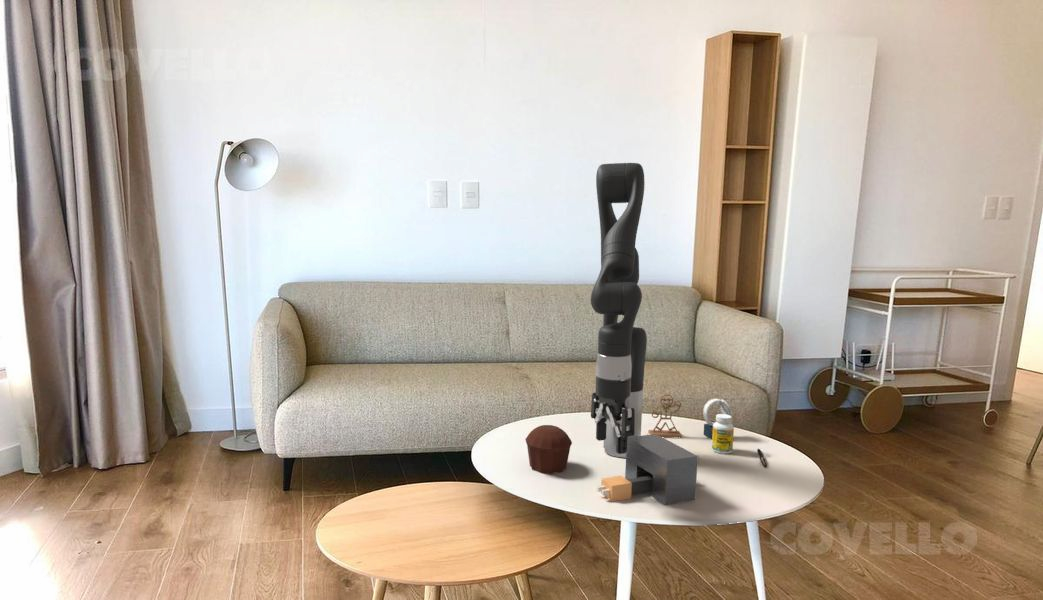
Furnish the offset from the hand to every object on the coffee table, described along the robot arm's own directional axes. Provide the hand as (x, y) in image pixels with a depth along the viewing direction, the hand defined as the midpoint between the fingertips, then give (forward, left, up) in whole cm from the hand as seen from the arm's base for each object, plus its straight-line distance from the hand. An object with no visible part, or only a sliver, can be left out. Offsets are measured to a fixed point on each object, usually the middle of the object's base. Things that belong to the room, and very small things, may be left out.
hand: (610, 446), depth 150 cm
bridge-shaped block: (0, +13, -12) cm, 17 cm away
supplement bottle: (-16, +44, -12) cm, 48 cm away
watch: (-26, +50, -12) cm, 58 cm away
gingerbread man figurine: (-32, +37, -12) cm, 50 cm away
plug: (0, +10, -12) cm, 15 cm away
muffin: (-21, -5, -12) cm, 24 cm away
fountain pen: (-8, +50, -12) cm, 52 cm away
